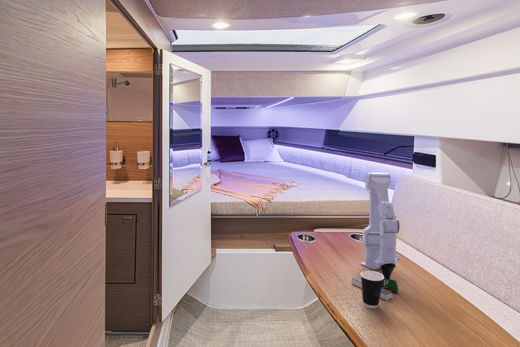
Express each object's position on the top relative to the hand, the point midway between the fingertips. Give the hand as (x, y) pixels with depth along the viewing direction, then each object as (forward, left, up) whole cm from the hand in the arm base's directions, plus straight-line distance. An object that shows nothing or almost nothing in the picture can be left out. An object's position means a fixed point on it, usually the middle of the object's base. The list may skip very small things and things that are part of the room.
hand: (386, 280), depth 129 cm
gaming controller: (+3, +2, -2) cm, 5 cm away
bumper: (+10, 0, -2) cm, 10 cm away
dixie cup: (+19, +7, -2) cm, 20 cm away
